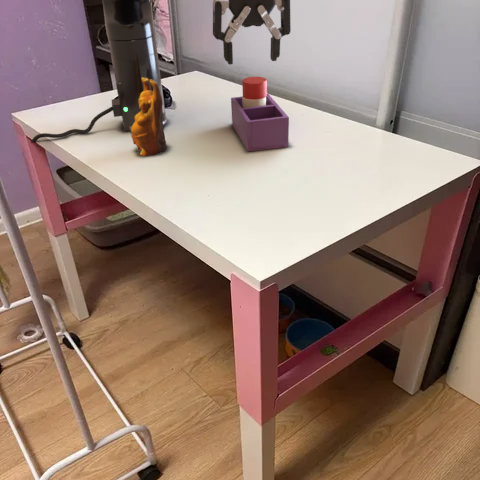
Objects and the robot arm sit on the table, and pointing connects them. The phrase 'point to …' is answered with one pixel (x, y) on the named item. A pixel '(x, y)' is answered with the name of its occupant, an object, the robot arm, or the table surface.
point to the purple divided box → (260, 125)
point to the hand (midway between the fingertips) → (251, 61)
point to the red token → (254, 88)
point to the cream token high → (253, 102)
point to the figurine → (149, 121)
